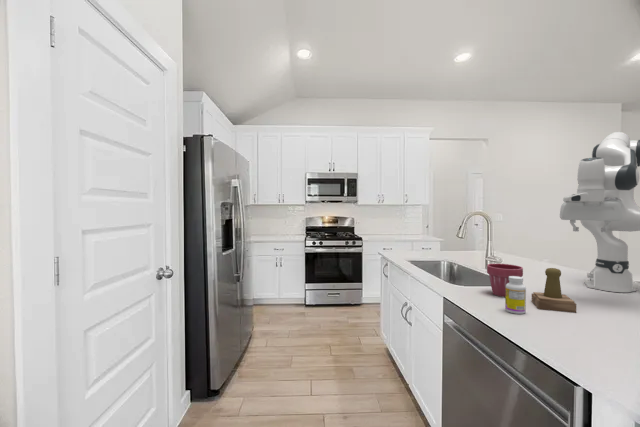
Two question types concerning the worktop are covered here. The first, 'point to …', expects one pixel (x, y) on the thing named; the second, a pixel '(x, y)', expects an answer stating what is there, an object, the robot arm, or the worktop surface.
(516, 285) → the supplement bottle
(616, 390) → the worktop surface
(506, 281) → the plant pot
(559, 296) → the cork
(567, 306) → the walnut stand
